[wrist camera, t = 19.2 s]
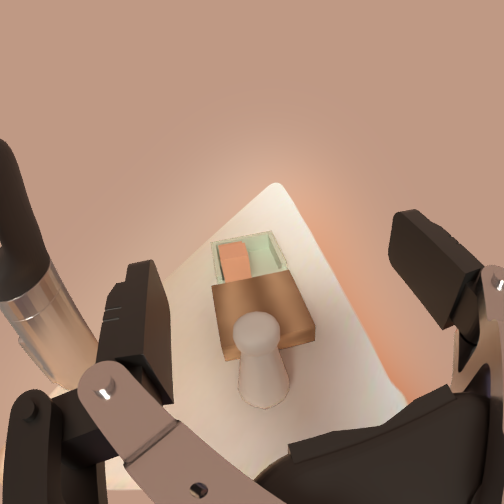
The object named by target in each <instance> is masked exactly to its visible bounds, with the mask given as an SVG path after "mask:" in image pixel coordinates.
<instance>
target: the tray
mask: <svg viewBox="0 0 504 504" xmlns="http://www.w3.org/2000/svg"><path fill="white" fill-rule="evenodd" d="M239 241H242V243H245V246H246V249H247V252H248V256H249V263H250V270H251V277H257V276H262V275H266V274H271V273H276V272H280V271H285V270H288V269H287V264H286V260H285V258H284V256H283V254H282V252H281V250H280V248H279V246H278V244H277V242H276V240H275V238H274V236H273V234H272V231H268V232H262V233H257V234H252V235H247V236H242V237H237V238H232V239H227V240H222V241H217V242H212V243H211V248H212V254H213V260H214V266H215V271H216V277H217V281H218V284H223V283H225V278H224V276H223V271H222V266H221V261H220V255H219V248H218V245H222V244H228V243H233V242H239ZM232 282H233V281H232ZM227 283H228V282H227Z"/></svg>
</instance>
